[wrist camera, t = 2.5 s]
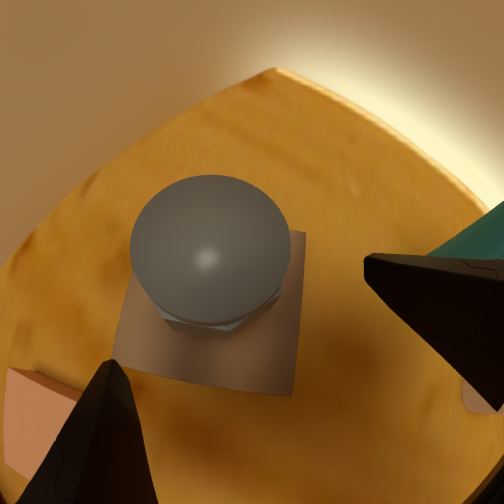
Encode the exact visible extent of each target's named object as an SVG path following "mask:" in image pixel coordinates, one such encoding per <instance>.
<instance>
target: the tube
mask: <svg viewBox="0 0 504 504" xmlns="http://www.w3.org/2000/svg"><path fill="white" fill-rule="evenodd" d="M426 256H434V257H450V258H458V259H459V258H467V259H504V201H503V202H501V203H500V204H499V205H497V206H496V207H495V208H494V209H492V210H491V211H489V212H488V213H487V214H485V215H484V216H483V217H481V218H480V219H478V220H477V221H476V222H474V223H473V224H471V225H470V226H469V227H467V228H466V229H464V230H463V231H461V232H460V233H459V234H457V235H456V236H454V237H453V238H451V239H450V240H448V241H447V242H446V243H444V244H443V245H441V246H440V247H438V248H437V249H435V250H434V251H432V252H431V253H429V254H428V255H426Z"/></svg>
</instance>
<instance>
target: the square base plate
mask: <svg viewBox="0 0 504 504" xmlns="http://www.w3.org/2000/svg"><path fill="white" fill-rule="evenodd" d="M289 232H290V238H291V256H290V262H289V265H288V268H287V272H286V274H285V276H284V278H283V286H282V294H281V295H280V297H279V298H278V300H277V301H276V302H275V304H274V305H273V306H272V308H271V309H270V310H268V311H267V312H266V313H264V314H263V315H261V316H260V317H259V318H257V319H256V320H255V321H253V322H252V323H250V324H249V325H248V326H246V327H245V328H243V329H242V330H241V331H239V332H238V333H236V334H235V335H234V336H232V337H231V338H229V339H228V340H225V339H219V338H213V337H207V336H202V335H197V334H192V333H187V332H182V331H177V330H173V329H172V328H171V327H170V326H169V325H168V324H167V323H166V322H165V321H164V320H163V319H162V316H161V315H160V313H159V311H158V310H157V308H156V307H155V305H154V303H153V302H152V300H151V298H150V297H149V295H148V294H147V293H146V292H145V290H144V289H143V287H142V286H141V284H140V283H139V281H138V279H137V277H136V275H135V273H134V270H132V274H131V277H130V281H129V284H128V288H127V292H126V296H125V299H124V303H123V307H122V311H121V315H120V320H119V324H118V328H117V333H116V337H115V342H114V347H113V352H112V357H111V359H115V360H116V361H117V362H118V364H119V365H121V366H125V367H128V368H132V369H135V370H139V371H143V372H146V373H150V374H154V375H158V376H163V377H167V378H171V379H176V380H180V381H185V382H190V383H195V384H200V385H206V386H211V387H217V388H223V389H230V390H237V391H244V392H252V393H261V394H270V395H281V396H292V388H293V380H294V372H295V363H296V354H297V345H298V335H299V324H300V313H301V302H302V289H303V275H304V260H305V242H306V233H305V232H300V231H294V230H289Z"/></svg>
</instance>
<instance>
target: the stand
mask: <svg viewBox="0 0 504 504" xmlns="http://www.w3.org/2000/svg"><path fill="white" fill-rule="evenodd" d="M81 395H82V392H79V391H77V390H74V389H72V388H70V387H67V386H65V385H63V384H61V383H58V382H56V381H54V380H52V379H50V378H48V377H45V376H43V375H41V374H39V373H37V372H35V371H30V370H23V369H17V368H11V367H8V373H7V381H6V391H5V404H4V458H5V464H7V465H8V466H10V467H11V468H12V469H14V470H15V471H17V472H18V473H20V474H21V475H23V476H24V477H26V478H27V479H29V480H30V481H31V479H32V477H33V476H34V474H35V473H36V471H37V470H38V468H39V466H40V465H41V463H42V462H43V460H44V458H45V456H46V455H47V453H48V451H49V450H50V448H51V446H52V444H53V442H54V441H56V437H57V435H58V434H59V432H60V430H61V428H62V427H63V425H64V423H65V422H66V420H67V418H68V416H69V415H70V413H71V411H72V410H73V408H74V406H75V405H76V403H77V402H78V400H79V398H80V397H81Z"/></svg>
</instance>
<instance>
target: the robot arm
mask: <svg viewBox="0 0 504 504" xmlns="http://www.w3.org/2000/svg"><path fill="white" fill-rule="evenodd" d="M364 279H365V281H366V283H367V284H368V285H369V286H370V287H371V288H372V289H373V290H374V291H375V293H376V294H377V295H378V296H379V297H380V298H381V299H382V300H383V301H384V302H385V303H386V305H387V306H388V307H389V308H390V309H391V310H392V311H393V312H394V313H396V314H397V315H398V316H399V317H400V318H401V319H402V320H403V321H404V322H405V323H407V324H408V325H409V326H410V327H411V328H412V329H413V330H414V331H415V332H416V333H417V334H419V335H420V336H421V337H422V338H423V339H424V340H425V341H426V342H427V343H428V344H429V345H430V346H431V347H432V348H433V349H434V350H435V351H437V352H438V353H439V354H440V355H441V356H442V357H443V358H444V359H445V360H446V361H447V362H448V363H449V364H450V365H451V366H452V367H453V368H454V369H455V370H456V371H457V372H458V373H459V374H460V375H461V376H462V377H464V379H465V380H466V381H467V382H468V383H469V384H470V385H471V386H472V387H473V388H474V389H475V390H476V391H477V392H478V393H479V394H480V396H481V397H482V398H483V399H484V400H485V401H486V402H487V403H488V404H489V405H490V406H491V407H492V408H493V409H494V410H495V411H496V412H498V411H499V410H500V408H501V407H502V405H503V404H504V259H467V258H459V259H458V258H450V257H434V256H418V255H401V254H384V253H372V254H370V255H368V256H366V257H365V258H364ZM15 504H158V500H157V497H156V493H155V489H154V486H153V482H152V478H151V474H150V469H149V465H148V460H147V456H146V451H145V446H144V441H143V435H142V429H141V424H140V420H139V416H138V413H137V409H136V405H135V401H134V398H133V394H132V390H131V385H130V382H129V379H128V377H127V375H126V374H125V373H124V371H123V370H122V368H121V367H120V365H119V364H118V362H117V361H116V360H115V359H110V360H107V361H104V362H102V364H101V365H100V367H99V368H98V370H97V371H96V373H95V375H94V376H93V378H92V379H91V381H90V382H89V384H88V386H87V387H86V389H85V390H84V392H83V393H82V395H81V397H80V398H79V400H78V402H77V403H76V405H75V406H74V408H73V410H72V411H71V413H70V415H69V416H68V418H67V420H66V422H65V423H64V425H63V427H62V428H61V430H60V432H59V434H58V435H57V437H56V441H54V442H53V444H52V446H51V448H50V450H49V451H48V453H47V455H46V456H45V458H44V460H43V462H42V463H41V465H40V466H39V468H38V470H37V471H36V473H35V474H34V476H33V477H32V479H31V481H30V482H29V484H28V485H27V487H26V488H25V490H24V492H23V493H22V495H21V496H20V498H19V500H18V501H17V502H16V503H15ZM462 504H504V455H503V456H502V457H501V459H500V460H499V461H498V463H497V464H496V465H495V467H494V468H493V469H492V470H491V472H490V473H489V474H488V475H487V477H486V478H485V479H484V480H483V481H482V483H481V484H480V485H479V486H478V487H477V488H476V490H475V491H474V492H473V493H472V494H471V495H470V496H469V497H468V498H467V499H466V500H465V501H464V502H463V503H462Z"/></svg>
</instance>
